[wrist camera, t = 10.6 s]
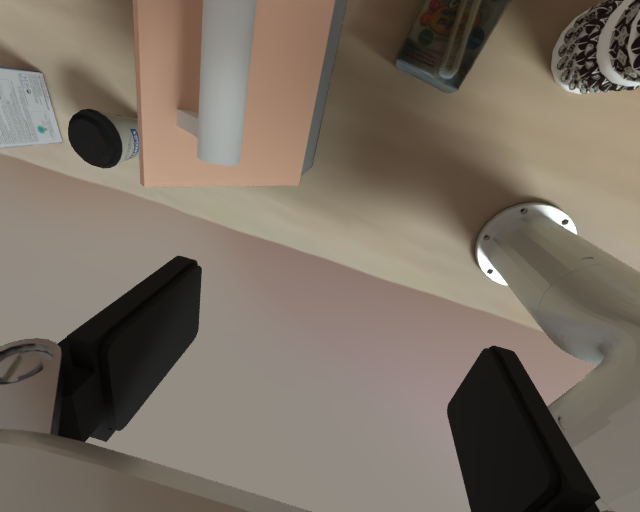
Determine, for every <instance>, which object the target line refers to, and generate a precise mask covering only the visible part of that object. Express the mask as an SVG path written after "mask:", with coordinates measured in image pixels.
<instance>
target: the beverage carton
mask: <svg viewBox="0 0 640 512" xmlns="http://www.w3.org/2000/svg"><path fill="white" fill-rule="evenodd" d="M510 1H511V0H422V1H421V4H420V6H419V8H418V11H417V13H416V15H415V18H414V20H413V23H412V25H411V28H410V31H409V33H408V35H407V37H406V38H405V40H404V43H403V45H402V47H401V49H400V51H399V53H398V55H397V57H396V60H395V66H396V68H398V69H400V70H403V71H405V72H407V73H409V74H411V75H413V76H415V77H417V78H419V79H421V80H422V81H424V82H426V83H428V84H430V85H432V86H434V87H436V88H437V89H439V90H441V91H443V92H446V93H452V92H453V91H458V89H459V87H460V85H461V84H462V82H463V80H464V79H465V77H466V75H467V74H468V72H469V71H470V70H471V68H472V66H473V64H474V62H475V60H476V59H477V57H478V55H479V54H480V52H481V50H482V49H483V47H484V45H485V43H486V42H487V40H488V38H489V36H490V35H491V33H492V31H493V29H494V28H495V26H496V24H497V23H498V21H499V19H500V18H501V16H502V14H503V13H504V11H505V9H506V7H507V6H508V4H509V2H510Z"/></svg>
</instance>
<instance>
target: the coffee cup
mask: <svg viewBox="0 0 640 512" xmlns="http://www.w3.org/2000/svg"><path fill="white" fill-rule="evenodd" d="M68 136H69V141H70V143H71V146H72V147H73V149H74V150H75V152H76V153H77V154H78V155H79V156H80V157H81V158H82V159H83V160H84V161H86V162H88V163H89V164H91V165H93V166H97V167H100V168H111V167H113V166H115V165H117V163H120V162H122V161H125V160H127V159H130V158H133V157H135V156H138V155H139V137H138V118H132V117H126V116H120V115H113V114H107V113H100V112H98V111H95V110H91V109H85V110H81V111H79V112H78V113H76V114H75V115H73V116H72V118H71V120H70V121H69V127H68Z"/></svg>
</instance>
